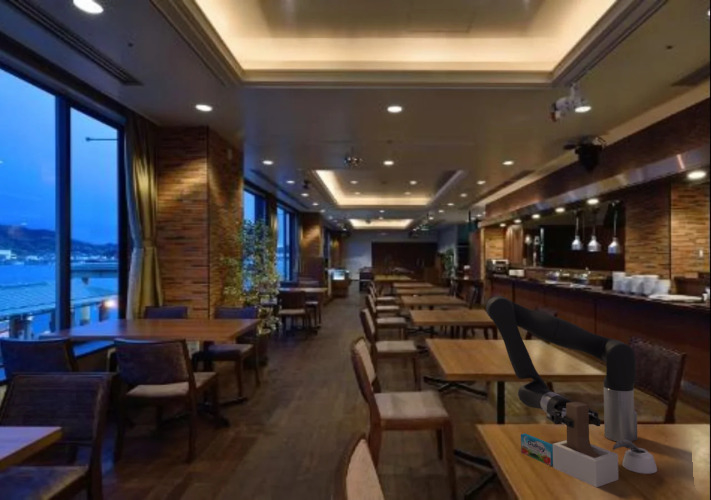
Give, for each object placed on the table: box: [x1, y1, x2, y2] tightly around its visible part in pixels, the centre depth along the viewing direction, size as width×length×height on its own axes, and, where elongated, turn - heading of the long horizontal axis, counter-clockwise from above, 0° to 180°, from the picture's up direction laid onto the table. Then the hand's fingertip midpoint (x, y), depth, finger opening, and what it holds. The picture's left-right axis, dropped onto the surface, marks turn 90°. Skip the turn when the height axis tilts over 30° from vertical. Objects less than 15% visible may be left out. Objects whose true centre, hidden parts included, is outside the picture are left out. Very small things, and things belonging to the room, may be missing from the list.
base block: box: [552, 439, 619, 488], centre depth 147 cm, size 10×14×8 cm, turn 28°
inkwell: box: [612, 439, 658, 475], centre depth 148 cm, size 9×18×10 cm, turn 124°
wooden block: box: [566, 401, 599, 458], centre depth 147 cm, size 9×4×18 cm, turn 20°
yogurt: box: [520, 433, 554, 467], centre depth 158 cm, size 12×2×6 cm, turn 28°
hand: (585, 423), depth 146 cm, fingers open, 7 cm apart
